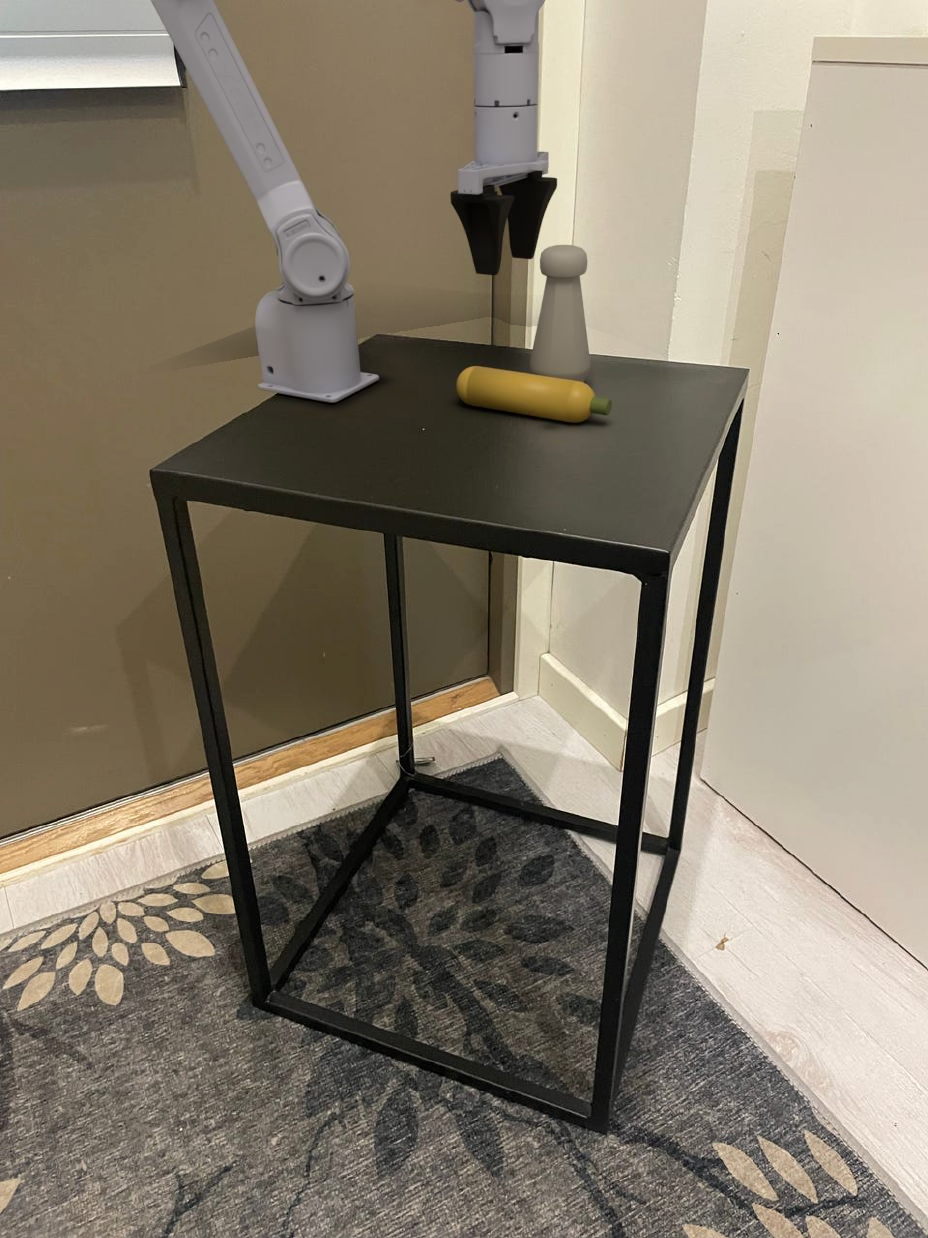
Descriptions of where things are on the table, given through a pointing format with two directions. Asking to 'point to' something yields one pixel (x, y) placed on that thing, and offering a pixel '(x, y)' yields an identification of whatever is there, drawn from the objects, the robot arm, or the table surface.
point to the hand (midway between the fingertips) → (505, 265)
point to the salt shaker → (562, 317)
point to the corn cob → (530, 394)
